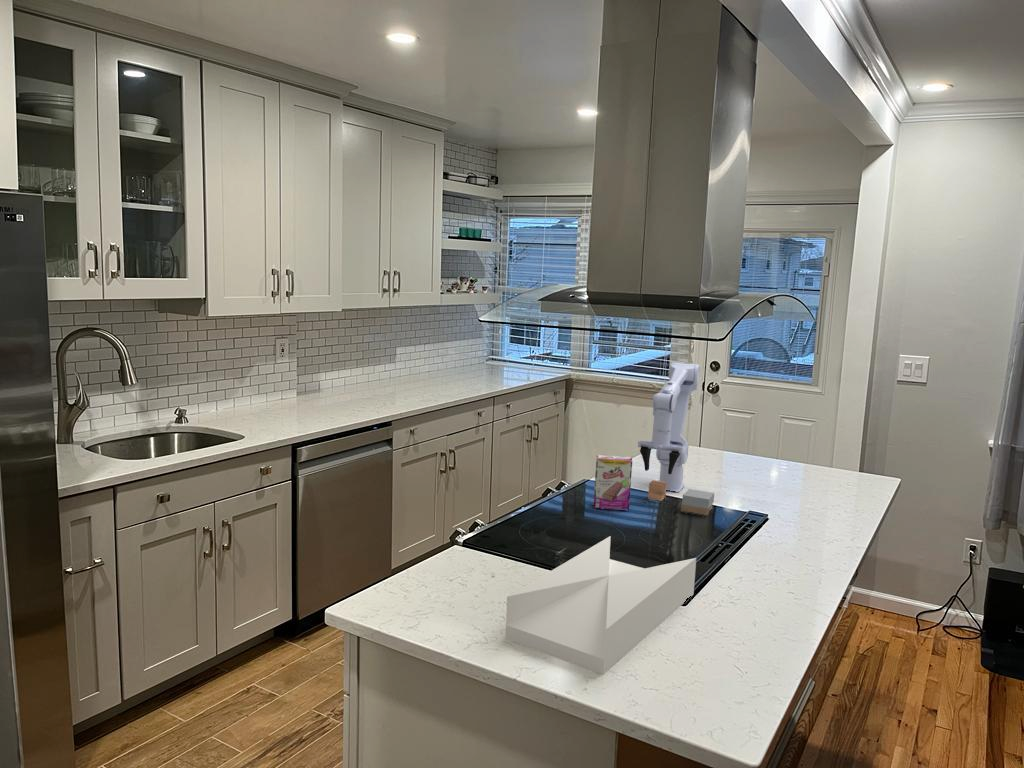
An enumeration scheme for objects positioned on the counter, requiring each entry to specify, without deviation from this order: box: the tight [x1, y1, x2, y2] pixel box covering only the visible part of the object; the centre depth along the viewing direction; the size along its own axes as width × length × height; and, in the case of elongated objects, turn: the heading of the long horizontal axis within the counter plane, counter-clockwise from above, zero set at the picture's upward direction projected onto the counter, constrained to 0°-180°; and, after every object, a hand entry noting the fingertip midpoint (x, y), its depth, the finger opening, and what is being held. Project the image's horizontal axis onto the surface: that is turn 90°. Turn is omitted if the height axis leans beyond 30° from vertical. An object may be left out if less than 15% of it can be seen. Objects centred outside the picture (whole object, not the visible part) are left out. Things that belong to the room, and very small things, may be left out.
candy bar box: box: [593, 454, 633, 511], centre depth 241 cm, size 11×5×16 cm, turn 84°
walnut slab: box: [680, 503, 714, 515], centre depth 242 cm, size 8×8×3 cm
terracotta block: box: [647, 479, 667, 501], centre depth 252 cm, size 4×4×6 cm
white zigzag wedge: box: [505, 535, 697, 675], centre depth 167 cm, size 45×22×10 cm, turn 146°
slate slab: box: [681, 488, 715, 509], centre depth 242 cm, size 8×8×3 cm
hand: (658, 472), depth 250 cm, fingers open, 7 cm apart
